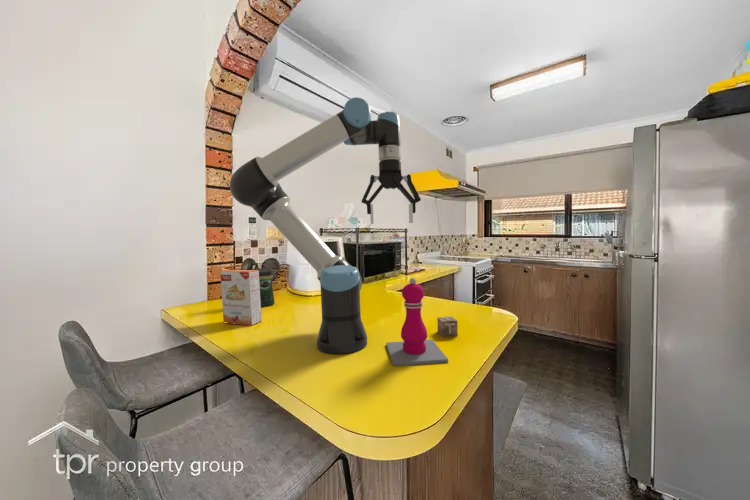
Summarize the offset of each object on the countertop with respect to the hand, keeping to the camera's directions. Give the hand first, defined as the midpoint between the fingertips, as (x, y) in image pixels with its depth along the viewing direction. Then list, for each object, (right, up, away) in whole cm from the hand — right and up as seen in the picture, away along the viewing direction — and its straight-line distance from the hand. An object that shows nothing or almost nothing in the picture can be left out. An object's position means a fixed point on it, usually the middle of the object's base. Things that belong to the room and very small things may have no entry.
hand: (391, 223), depth 99 cm
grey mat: (+5, -38, -20) cm, 43 cm away
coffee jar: (-61, -37, +43) cm, 83 cm away
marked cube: (+18, -37, -5) cm, 41 cm away
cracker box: (-58, -38, +14) cm, 71 cm away
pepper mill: (+5, -37, -20) cm, 42 cm away
